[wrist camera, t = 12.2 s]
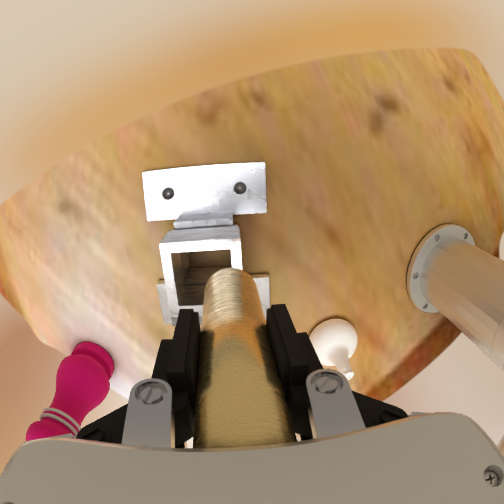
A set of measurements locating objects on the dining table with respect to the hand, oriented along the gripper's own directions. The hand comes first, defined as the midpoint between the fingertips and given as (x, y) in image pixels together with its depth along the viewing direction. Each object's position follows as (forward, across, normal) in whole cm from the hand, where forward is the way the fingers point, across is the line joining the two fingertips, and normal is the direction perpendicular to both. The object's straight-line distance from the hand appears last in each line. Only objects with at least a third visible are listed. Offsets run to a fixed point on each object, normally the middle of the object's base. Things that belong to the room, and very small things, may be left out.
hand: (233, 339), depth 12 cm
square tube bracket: (+19, +2, +5) cm, 20 cm away
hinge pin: (+4, 0, 0) cm, 4 cm away
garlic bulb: (+20, -12, +15) cm, 28 cm away
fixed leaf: (+20, +2, 0) cm, 20 cm away
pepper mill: (+20, +19, +18) cm, 33 cm away
